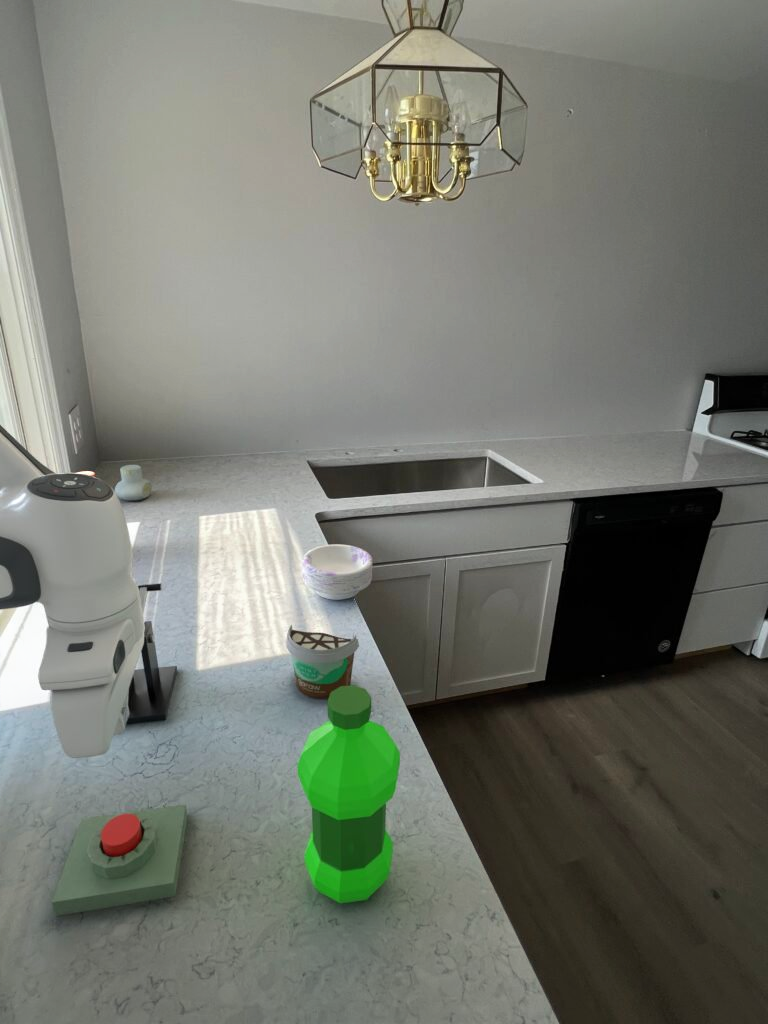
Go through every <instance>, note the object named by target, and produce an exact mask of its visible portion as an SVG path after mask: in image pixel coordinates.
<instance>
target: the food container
mask: <svg viewBox="0 0 768 1024" xmlns="http://www.w3.org/2000/svg"><path fill="white" fill-rule="evenodd" d="M285 646H286V649H287V651H288V652H289V653H290V655H291V660H292V666H293V673H294V678H295V684H296V688H297V689H298V691H299V692H300V693H301V694H303V695H304V696H306V697H308V698H311V699H313V700H314V699H315V700H328V698H329V696H330V693H331V692H332V691H334V690H336V689H337V688H339V687H341V686H350V685H351V683H352V675H353V666H354V660H355V652H357V650H358V649H359V647H360V643H359V639H358V638H357V635H354V637H353V638H345V637H339V636H336V635H332V634H328V633H325V632H311V631H310V632H309V631H302V630H296V629H293V625H292V624H291V625H290V626H289V628H288V630H287V634H286V638H285Z"/></svg>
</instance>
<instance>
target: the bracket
mask: <svg viewBox="0 0 768 1024" xmlns="http://www.w3.org/2000/svg"><path fill="white" fill-rule="evenodd" d="M144 624H145V631H144V645H143V647H142V650H141V653H140V655H141V659H142V665H143V668H138V669H137V668H136V669H135V671H134V674H133V677H132V680H131V683H130V686H129V693H128V708H129V713H130V714H129V717H128V719H127V723H126V725H134V724H143V723H153V722H162V721H166V720H167V717H168V713H169V708H170V704H171V700H172V696H173V691H174V688H175V684H176V679H177V675H178V666H177V665H170V666H159V661H158V655H157V649H156V642H155V640H156V639H155V634H154V630H153V629H154V628H153V623H152V620H149V621H144Z"/></svg>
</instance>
